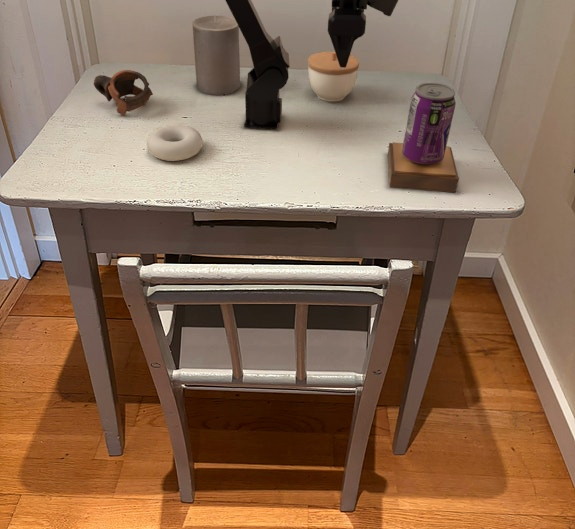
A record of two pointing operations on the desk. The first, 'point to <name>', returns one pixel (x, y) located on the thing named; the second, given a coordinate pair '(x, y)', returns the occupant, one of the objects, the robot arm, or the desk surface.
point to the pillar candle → (216, 54)
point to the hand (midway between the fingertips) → (343, 58)
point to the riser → (421, 171)
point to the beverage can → (429, 123)
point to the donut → (174, 142)
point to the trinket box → (331, 76)
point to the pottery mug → (124, 90)
